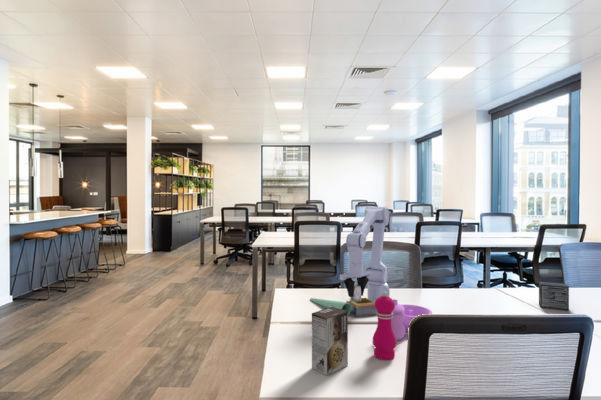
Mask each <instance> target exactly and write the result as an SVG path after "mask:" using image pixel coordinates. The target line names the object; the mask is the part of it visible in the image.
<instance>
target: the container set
mask: <svg viewBox="0 0 601 400" xmlns="http://www.w3.org/2000/svg"><path fill="white" fill-rule="evenodd" d="M391 299H392V298H391ZM392 300H393V301H394V304H395V308H394V310H393V311H392V313H393V318H392V319H391V326H392V330H393V333H394V335H395V338H396V341H401V340H402V339H403V338H404V336H405V335H406V333H408V326H409V323H410V321H411V320H412V319H413V318H415V317H416V316H418V315H422V314H432V315H433V311H432V310H431V309H430V308H428V307H425V306H421V305H418V304H417V305H416V304H400V303H398V302H399V300H398V299H396V298H395V299H394V298H393V299H392Z"/></svg>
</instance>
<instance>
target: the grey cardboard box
mask: <svg viewBox="0 0 601 400" xmlns="http://www.w3.org/2000/svg"><path fill="white" fill-rule="evenodd" d="M348 328H349V327H348V315H347V311H344V310H341V309H339V308H335V307H329V308H323V309H321V310H318V311H315V312H312V313H311V369H312V370H315V371H316V372H319V373H321V374H323V375H325V376H329V375H331V374H333V373H335V372H337V371H339V370H341V369H344V368H345V367H347V366H348V365H349V361H348V359H349V358H348V354H349V353H348V352H349V351H348V349H349V348H348V345H349V344H348V342H349V339H348V335H349V333H348V330H349V329H348Z"/></svg>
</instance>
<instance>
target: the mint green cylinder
mask: <svg viewBox="0 0 601 400" xmlns="http://www.w3.org/2000/svg"><path fill="white" fill-rule="evenodd" d="M309 300H310V302H312V303H315V304H317V305H319V306H321V307H323V308H324V309H326V308H329V307H335V308H339V309H341V310H344V311H347V316H350V314H351V313H350V312H351V305H350V304H349V303H346V302H347V301H340V300H339V301H338V300H330V299H323V298H316V297H315V298H314V297H311V298H310V299H309Z"/></svg>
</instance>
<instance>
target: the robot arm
mask: <svg viewBox="0 0 601 400" xmlns="http://www.w3.org/2000/svg"><path fill="white" fill-rule="evenodd" d="M389 218H390V212H389V208H388V207H387V206H369V205H367V206H366V207H365V208H364V218H363V220H362V221H360V222H358V224H357V225H356V227H355V228H354V230H353V231H352V232H350V233H348V234H347V236H346V240H345V244H346V247H347V251H348V271H347V272H346V273H343V274H339V280H340V281H343V283H344V285H345V288H346V290H347V294H348V295H347V296H348V297H349V298H350V297H353V288H354V284H356V283H355V280H353V279H356V280H357V284H360V285H361V297H362V296H364V292H365V289H366V286H367V299H369V300H371V301H373V302H374V303H375V301H376V299H377V298H378V297H380V296H382V292H384V291H385V292H387V294H388V297H390V286H389V284H388V283H387V282H388V279H389V276H388V275H389V274H388V267H387V265H385V264H384V263H383V251H384V237H385V227H386V226H388V225H389V220H390V219H389ZM371 226H372V227H373V233H372V245H371V256H370V257H371V259H370V261H369V262H368V263H367V264H365V267H364V247H365V246H366V241H367V237H368V235H369V233H370V231H371Z"/></svg>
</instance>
